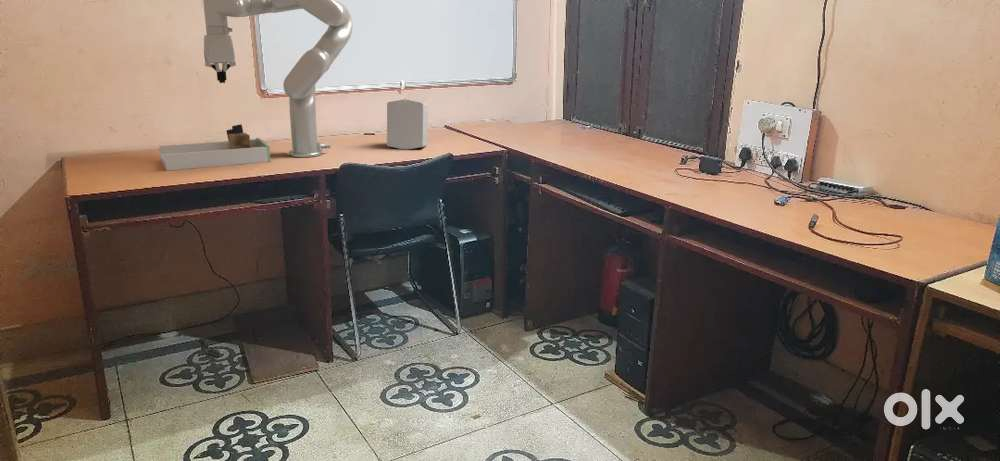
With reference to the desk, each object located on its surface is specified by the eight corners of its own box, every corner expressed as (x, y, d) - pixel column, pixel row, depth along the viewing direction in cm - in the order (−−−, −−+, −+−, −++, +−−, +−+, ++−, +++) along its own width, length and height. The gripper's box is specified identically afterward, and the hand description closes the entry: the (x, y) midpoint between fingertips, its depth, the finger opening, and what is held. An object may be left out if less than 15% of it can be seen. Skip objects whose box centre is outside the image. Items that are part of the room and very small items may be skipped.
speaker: (251, 150, 283) (246, 123, 280) (238, 152, 279) (232, 126, 276) (240, 149, 288) (235, 123, 285) (227, 152, 284) (222, 125, 281)
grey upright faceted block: (429, 148, 305) (430, 100, 302) (422, 150, 290) (423, 99, 287) (395, 147, 306) (395, 99, 303) (386, 149, 291) (387, 98, 288)
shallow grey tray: (259, 153, 279) (258, 137, 277) (270, 161, 264) (269, 145, 262) (161, 160, 262) (159, 144, 260) (166, 170, 247) (164, 153, 245)
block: (246, 148, 274) (244, 132, 272) (250, 151, 270) (249, 135, 268) (229, 149, 271) (228, 134, 269) (234, 152, 266) (232, 136, 264)
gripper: (236, 31, 268) (241, 81, 274) (193, 31, 261) (199, 82, 267) (240, 31, 262) (245, 82, 268) (196, 31, 255) (202, 84, 261)
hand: (222, 82), depth 267 cm, fingers closed
